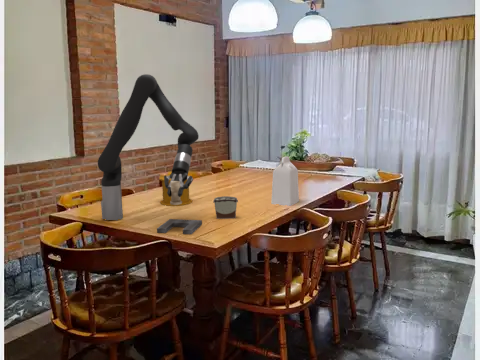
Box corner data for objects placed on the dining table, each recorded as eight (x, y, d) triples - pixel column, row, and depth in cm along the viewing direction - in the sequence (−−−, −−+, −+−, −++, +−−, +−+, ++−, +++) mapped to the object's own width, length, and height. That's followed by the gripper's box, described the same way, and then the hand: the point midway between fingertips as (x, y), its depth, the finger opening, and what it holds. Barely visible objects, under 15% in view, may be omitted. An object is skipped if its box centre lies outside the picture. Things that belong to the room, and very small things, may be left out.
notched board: (157, 232, 197) (156, 228, 197) (169, 222, 213) (169, 218, 212) (191, 234, 194) (191, 230, 194) (202, 224, 209) (201, 220, 209)
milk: (280, 199, 259) (280, 155, 254) (298, 201, 253) (299, 156, 248) (271, 203, 248) (271, 157, 244) (290, 206, 243) (290, 159, 238)
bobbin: (168, 204, 197) (167, 182, 195) (172, 202, 202) (171, 180, 200) (179, 205, 196) (178, 182, 194) (183, 202, 201) (182, 180, 199)
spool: (186, 206, 245) (185, 180, 242) (155, 205, 249) (154, 179, 246) (195, 199, 262) (195, 174, 260) (167, 198, 266) (166, 174, 263)
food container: (238, 215, 225) (237, 195, 224) (238, 218, 219) (238, 198, 218) (213, 215, 225) (213, 196, 223) (213, 218, 219) (212, 199, 217)
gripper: (164, 159, 204) (156, 190, 195) (194, 159, 202) (187, 191, 192) (169, 169, 211) (161, 200, 201) (198, 169, 208) (191, 200, 198)
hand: (174, 195), depth 197 cm, fingers closed on bobbin, 4 cm apart
